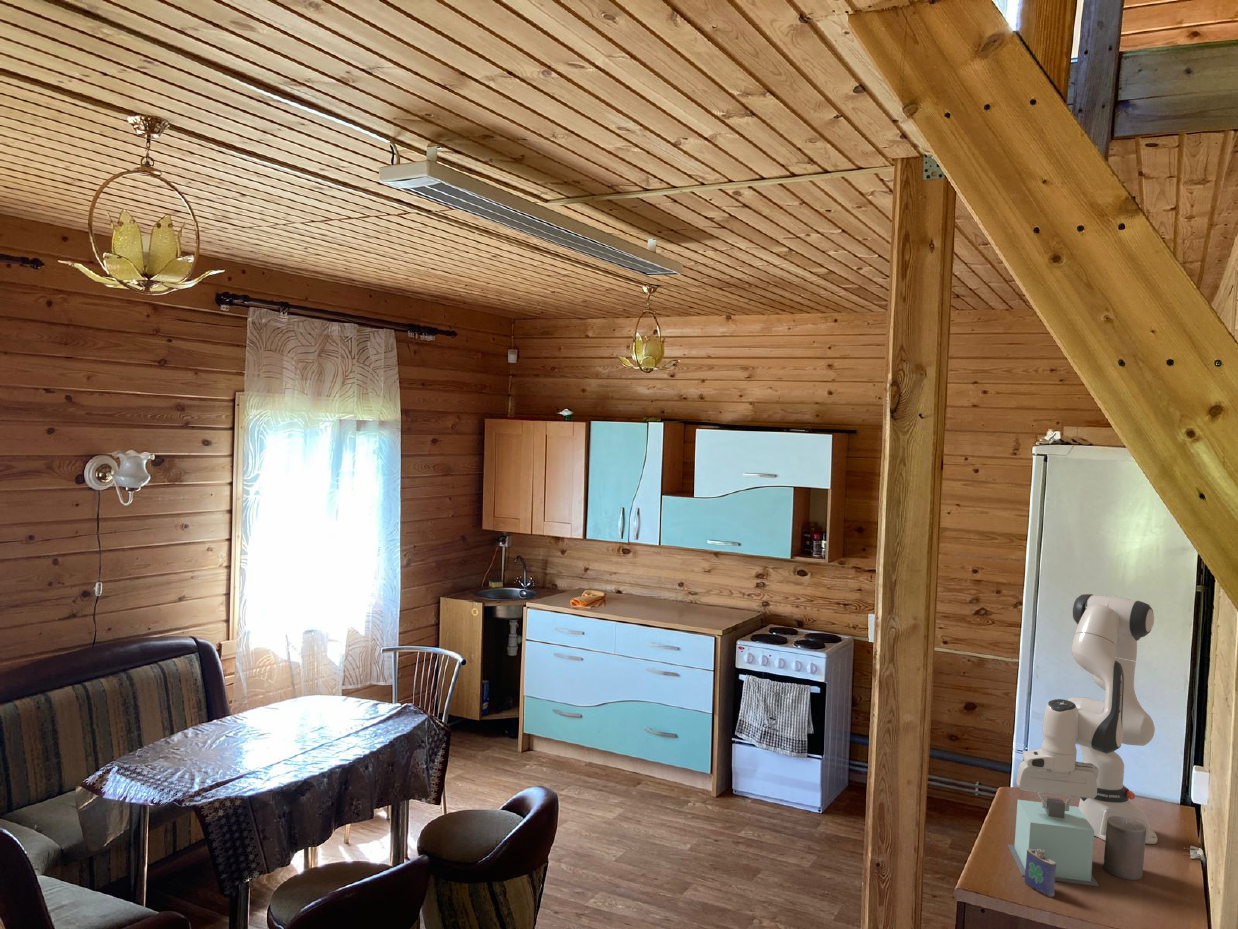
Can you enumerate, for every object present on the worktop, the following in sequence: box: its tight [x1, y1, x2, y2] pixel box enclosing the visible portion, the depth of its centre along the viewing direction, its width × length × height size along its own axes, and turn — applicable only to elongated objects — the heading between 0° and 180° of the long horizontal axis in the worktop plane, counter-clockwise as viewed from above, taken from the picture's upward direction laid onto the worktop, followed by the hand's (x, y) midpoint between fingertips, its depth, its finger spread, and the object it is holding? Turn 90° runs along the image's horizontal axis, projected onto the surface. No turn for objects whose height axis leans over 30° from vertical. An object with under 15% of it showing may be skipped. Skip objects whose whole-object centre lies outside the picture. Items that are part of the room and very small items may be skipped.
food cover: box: [1014, 796, 1095, 882], centre depth 257 cm, size 16×16×18 cm
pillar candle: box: [1102, 816, 1146, 881], centre depth 255 cm, size 10×10×15 cm
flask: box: [1023, 849, 1056, 899], centre depth 243 cm, size 9×3×11 cm, turn 20°
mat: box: [1007, 844, 1100, 887], centre depth 258 cm, size 19×19×1 cm
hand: (1054, 809), depth 257 cm, fingers closed on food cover, 4 cm apart
